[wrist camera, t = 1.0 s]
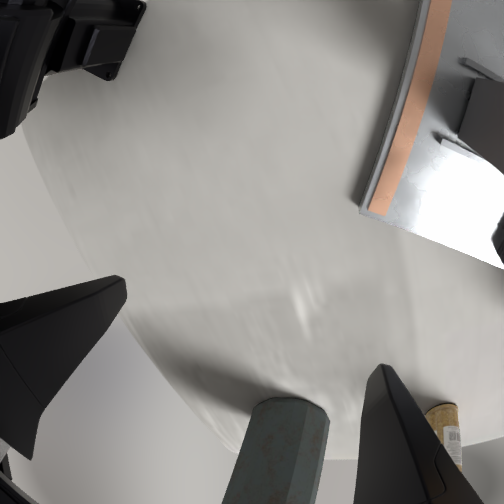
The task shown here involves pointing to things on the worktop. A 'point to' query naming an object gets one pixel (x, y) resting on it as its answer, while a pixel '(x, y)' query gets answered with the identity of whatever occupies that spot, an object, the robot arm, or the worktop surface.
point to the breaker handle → (485, 122)
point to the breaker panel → (443, 134)
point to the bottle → (280, 454)
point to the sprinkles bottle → (447, 429)
